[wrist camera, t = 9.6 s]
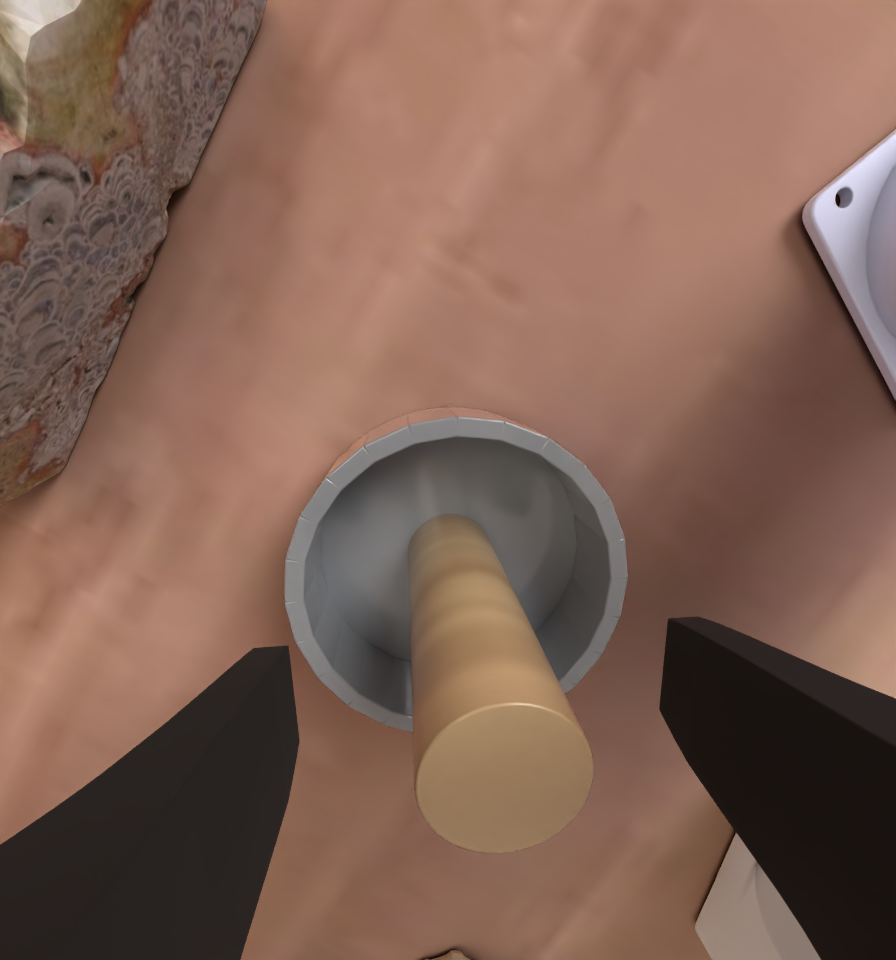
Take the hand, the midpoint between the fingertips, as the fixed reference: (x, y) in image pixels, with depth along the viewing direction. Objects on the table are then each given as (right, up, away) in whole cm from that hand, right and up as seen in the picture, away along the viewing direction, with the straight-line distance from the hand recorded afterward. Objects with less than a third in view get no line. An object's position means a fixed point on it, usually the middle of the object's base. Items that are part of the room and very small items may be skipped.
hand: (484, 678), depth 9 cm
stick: (-1, +1, +6) cm, 6 cm away
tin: (-1, +2, +6) cm, 7 cm away
